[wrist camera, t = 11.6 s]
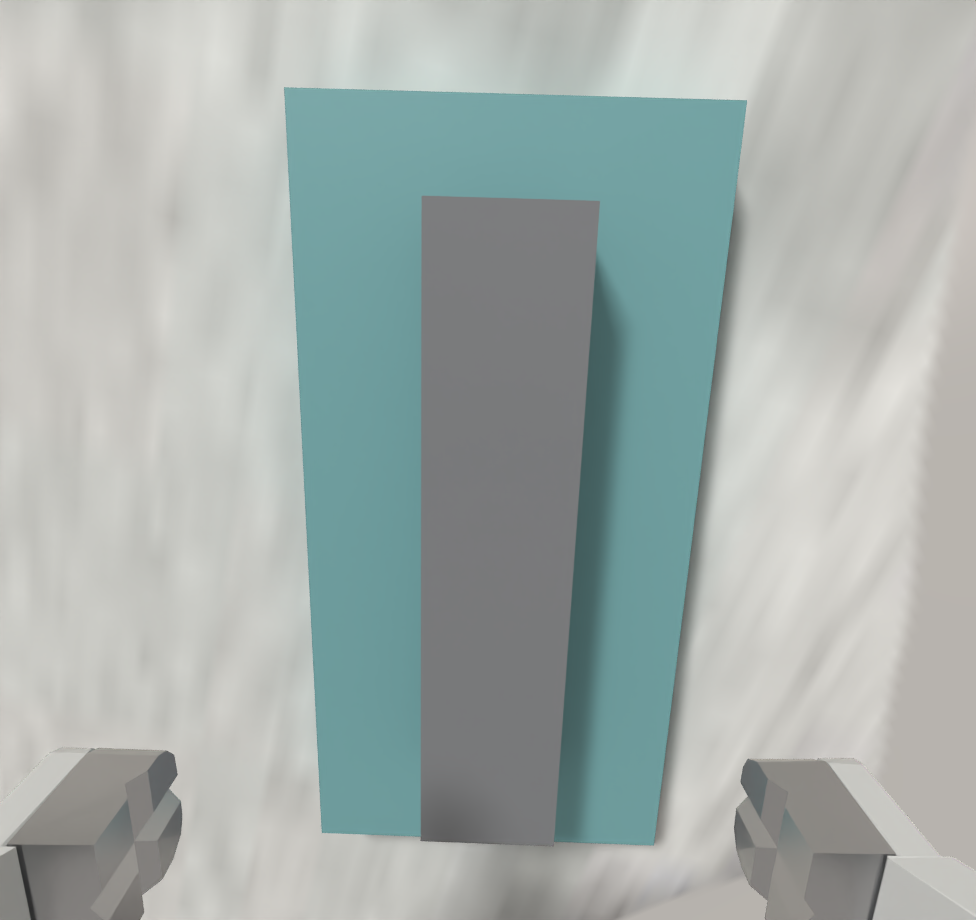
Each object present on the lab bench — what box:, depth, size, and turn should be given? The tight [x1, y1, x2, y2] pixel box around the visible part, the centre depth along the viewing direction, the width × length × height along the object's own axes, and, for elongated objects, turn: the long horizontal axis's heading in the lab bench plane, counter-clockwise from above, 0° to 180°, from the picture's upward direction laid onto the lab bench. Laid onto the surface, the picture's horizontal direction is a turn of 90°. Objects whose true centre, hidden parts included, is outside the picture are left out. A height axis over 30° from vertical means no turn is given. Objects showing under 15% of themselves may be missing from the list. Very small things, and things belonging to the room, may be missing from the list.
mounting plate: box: [284, 87, 747, 845], centre depth 20 cm, size 24×12×2 cm, turn 178°
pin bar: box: [421, 196, 600, 846], centre depth 18 cm, size 18×4×6 cm, turn 178°
